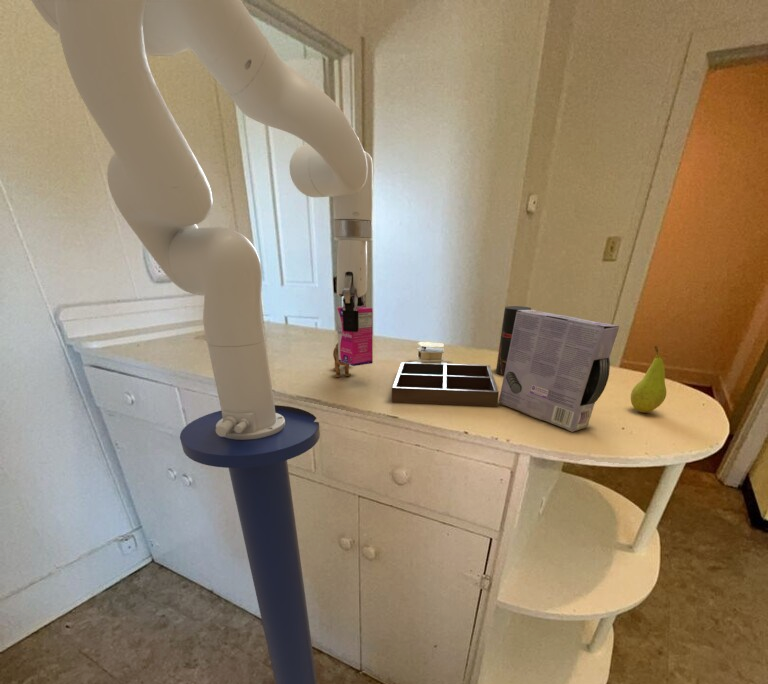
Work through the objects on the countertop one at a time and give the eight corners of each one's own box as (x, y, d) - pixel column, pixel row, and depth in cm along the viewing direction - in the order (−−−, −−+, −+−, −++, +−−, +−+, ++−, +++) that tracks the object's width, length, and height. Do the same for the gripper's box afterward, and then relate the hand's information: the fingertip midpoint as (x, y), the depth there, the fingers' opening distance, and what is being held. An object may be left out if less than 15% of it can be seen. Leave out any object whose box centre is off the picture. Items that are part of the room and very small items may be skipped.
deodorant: (513, 369, 111) (523, 305, 103) (524, 375, 106) (535, 309, 98) (491, 370, 110) (500, 306, 102) (502, 376, 105) (512, 309, 97)
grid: (496, 406, 86) (498, 392, 84) (391, 402, 88) (391, 387, 87) (488, 377, 104) (489, 365, 102) (401, 374, 106) (401, 362, 104)
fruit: (655, 419, 80) (679, 353, 74) (622, 412, 83) (642, 348, 77) (662, 411, 84) (685, 347, 77) (630, 405, 87) (650, 343, 81)
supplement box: (337, 362, 97) (335, 306, 91) (358, 359, 100) (357, 305, 94) (352, 366, 93) (351, 308, 87) (373, 363, 96) (374, 307, 90)
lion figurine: (359, 379, 102) (358, 340, 97) (337, 381, 101) (335, 341, 96) (347, 364, 114) (345, 329, 109) (327, 366, 113) (325, 329, 108)
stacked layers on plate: (447, 362, 116) (449, 341, 113) (448, 371, 109) (450, 348, 106) (411, 361, 117) (412, 340, 114) (409, 370, 110) (410, 347, 107)
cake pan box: (595, 429, 76) (626, 322, 66) (577, 435, 74) (607, 325, 64) (513, 400, 90) (529, 308, 80) (496, 404, 87) (511, 310, 78)
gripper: (343, 233, 91) (345, 322, 101) (323, 230, 77) (328, 334, 86) (378, 234, 91) (377, 323, 100) (364, 230, 76) (365, 335, 85)
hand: (354, 327), depth 93 cm, fingers closed on supplement box, 8 cm apart
